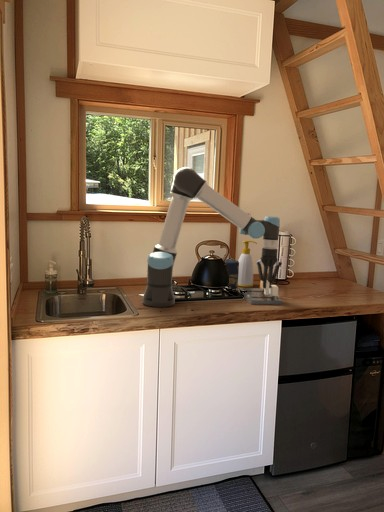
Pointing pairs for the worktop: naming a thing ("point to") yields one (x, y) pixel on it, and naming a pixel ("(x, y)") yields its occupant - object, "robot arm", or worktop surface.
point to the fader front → (273, 290)
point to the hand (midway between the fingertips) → (266, 294)
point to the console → (260, 297)
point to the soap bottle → (245, 267)
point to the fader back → (261, 285)
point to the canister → (232, 272)
